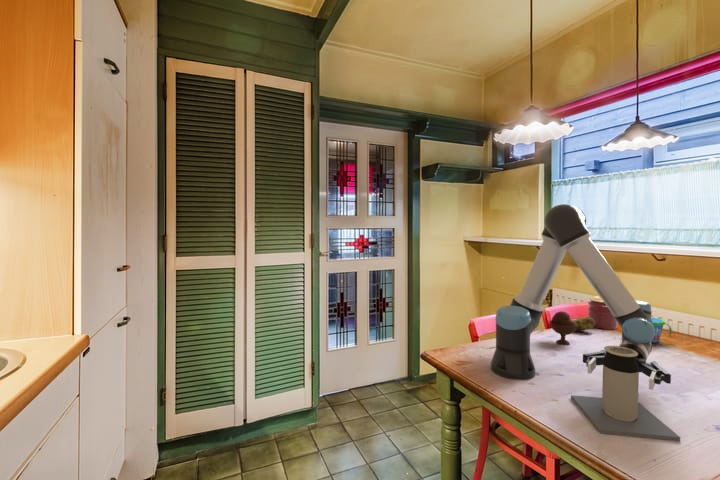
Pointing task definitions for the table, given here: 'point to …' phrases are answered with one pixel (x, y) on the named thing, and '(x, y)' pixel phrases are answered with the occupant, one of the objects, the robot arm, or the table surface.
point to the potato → (584, 323)
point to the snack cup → (658, 329)
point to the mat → (623, 421)
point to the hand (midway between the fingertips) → (618, 376)
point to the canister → (601, 314)
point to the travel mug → (620, 382)
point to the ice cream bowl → (563, 326)
